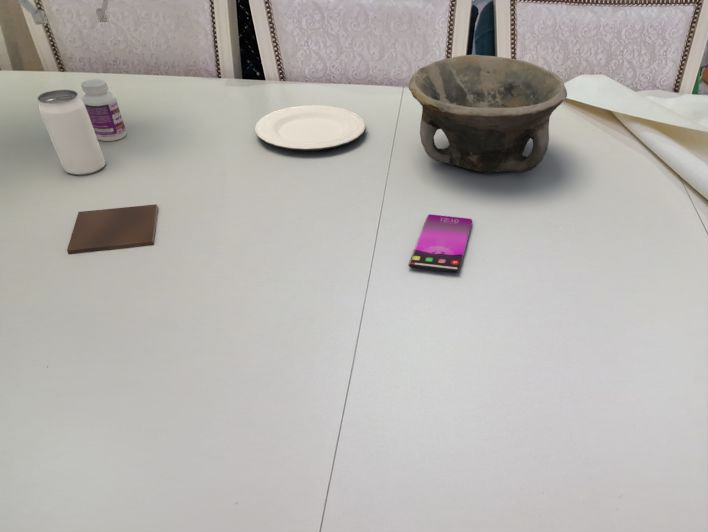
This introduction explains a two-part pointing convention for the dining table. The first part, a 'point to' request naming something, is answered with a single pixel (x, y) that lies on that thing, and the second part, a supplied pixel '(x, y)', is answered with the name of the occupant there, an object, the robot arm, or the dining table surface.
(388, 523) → the dining table surface
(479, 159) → the bowl
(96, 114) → the pill bottle
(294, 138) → the plate
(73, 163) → the can
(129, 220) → the coaster
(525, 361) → the dining table surface
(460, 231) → the smartphone
